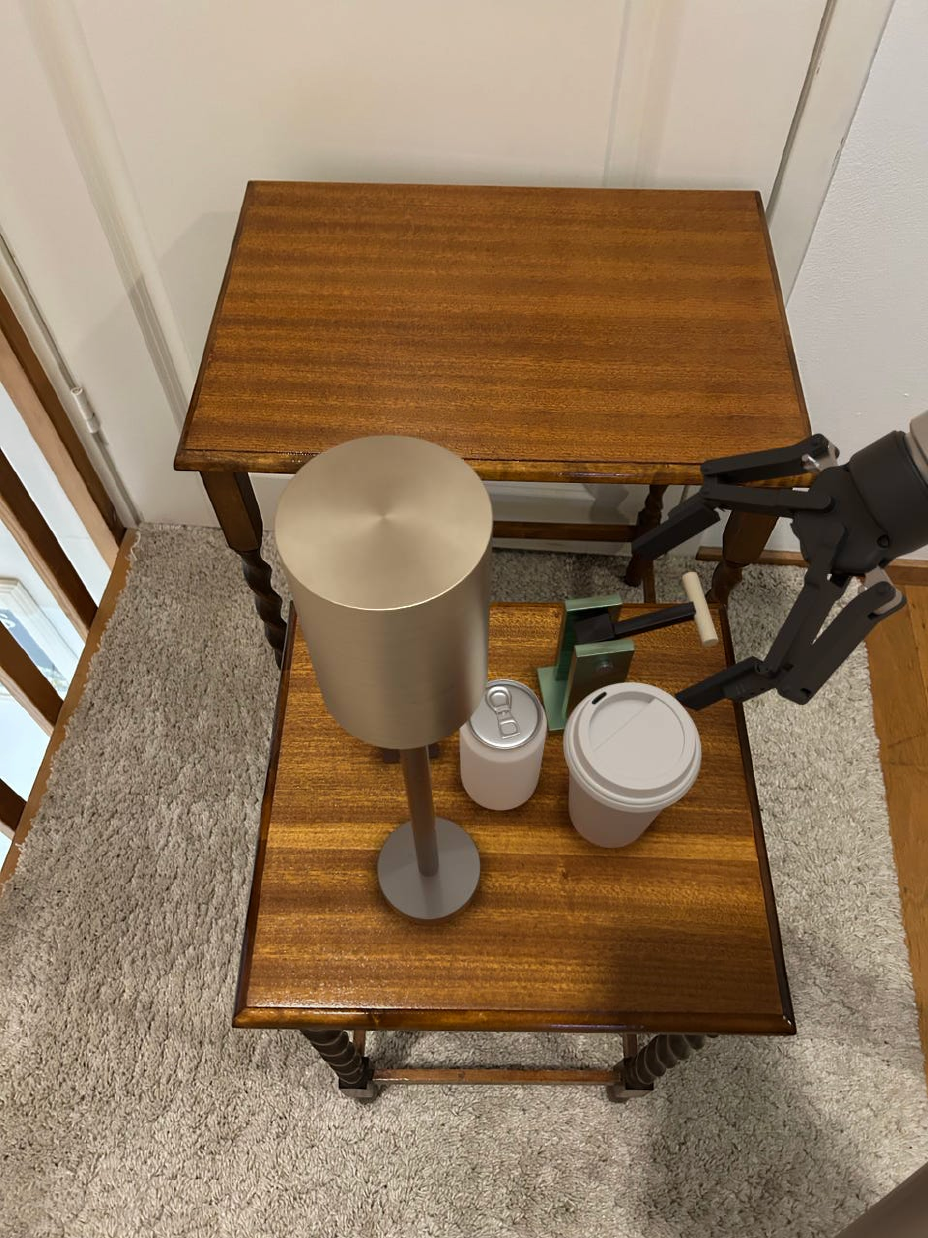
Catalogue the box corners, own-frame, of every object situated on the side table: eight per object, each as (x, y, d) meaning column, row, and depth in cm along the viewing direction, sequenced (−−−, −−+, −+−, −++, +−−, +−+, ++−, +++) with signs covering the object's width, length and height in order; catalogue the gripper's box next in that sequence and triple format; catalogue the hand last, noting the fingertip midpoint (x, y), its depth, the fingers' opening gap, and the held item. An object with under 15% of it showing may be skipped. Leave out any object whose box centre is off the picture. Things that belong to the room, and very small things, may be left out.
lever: (698, 581, 73) (695, 565, 71) (719, 648, 70) (717, 633, 68) (573, 615, 75) (568, 601, 73) (589, 681, 72) (583, 668, 69)
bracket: (613, 664, 83) (635, 585, 72) (628, 725, 80) (654, 653, 69) (535, 674, 82) (546, 596, 72) (548, 736, 79) (561, 665, 68)
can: (524, 730, 80) (532, 663, 69) (549, 800, 76) (561, 741, 66) (451, 750, 79) (448, 685, 69) (473, 821, 76) (473, 765, 65)
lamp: (501, 882, 73) (538, 532, 34) (419, 948, 71) (355, 652, 31) (439, 805, 76) (407, 403, 37) (358, 865, 74) (231, 502, 34)
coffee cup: (638, 740, 79) (671, 655, 66) (687, 845, 74) (732, 776, 62) (532, 774, 78) (545, 694, 65) (575, 883, 73) (598, 820, 60)
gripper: (1040, 659, 56) (734, 784, 68) (886, 363, 68) (651, 512, 80) (998, 624, 51) (677, 766, 63) (840, 312, 64) (598, 479, 75)
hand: (662, 624), depth 72 cm, fingers open, 13 cm apart
